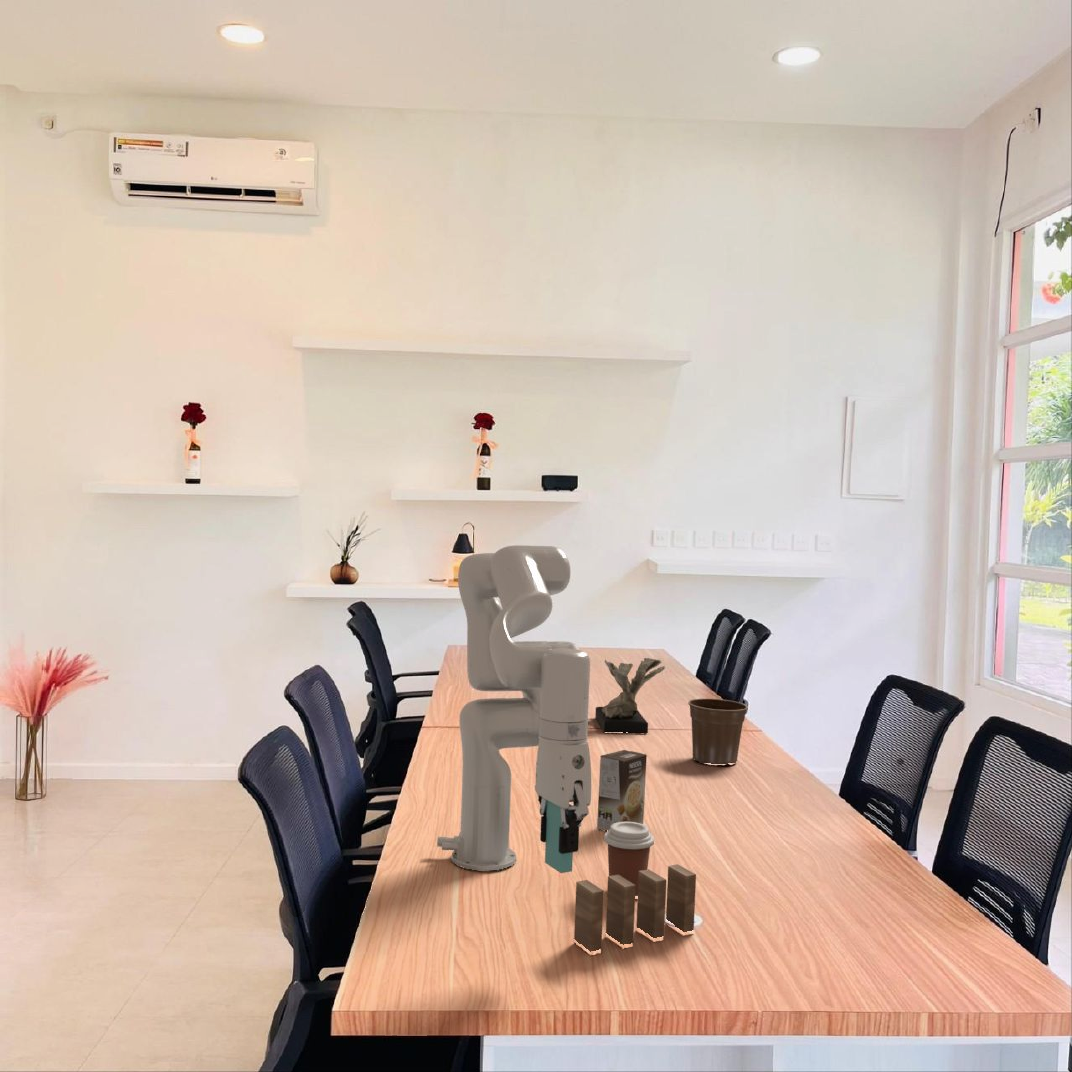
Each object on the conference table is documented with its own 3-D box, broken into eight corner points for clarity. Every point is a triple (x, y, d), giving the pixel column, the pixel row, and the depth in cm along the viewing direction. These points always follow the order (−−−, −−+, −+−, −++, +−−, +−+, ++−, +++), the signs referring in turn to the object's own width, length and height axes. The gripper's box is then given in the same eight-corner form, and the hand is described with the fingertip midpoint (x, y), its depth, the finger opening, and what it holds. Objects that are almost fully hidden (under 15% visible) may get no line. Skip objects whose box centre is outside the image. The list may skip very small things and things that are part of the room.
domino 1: (590, 956, 159) (592, 892, 159) (573, 943, 163) (576, 881, 163) (601, 953, 160) (603, 890, 160) (584, 941, 164) (587, 879, 164)
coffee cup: (620, 879, 192) (623, 816, 192) (661, 892, 186) (664, 827, 186) (591, 892, 185) (594, 827, 184) (633, 906, 179) (636, 839, 179)
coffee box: (620, 836, 217) (623, 761, 216) (596, 829, 221) (599, 755, 220) (644, 826, 224) (647, 754, 223) (620, 820, 228) (623, 748, 227)
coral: (594, 716, 338) (596, 651, 338) (655, 717, 339) (658, 653, 338) (601, 733, 313) (604, 663, 313) (667, 735, 314) (670, 665, 313)
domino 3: (653, 942, 165) (656, 881, 164) (636, 930, 169) (638, 871, 169) (663, 940, 166) (666, 879, 165) (646, 928, 170) (648, 869, 170)
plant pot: (742, 756, 291) (744, 699, 290) (748, 770, 275) (751, 711, 274) (684, 752, 293) (686, 696, 292) (687, 767, 276) (689, 707, 276)
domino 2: (622, 949, 162) (625, 887, 162) (605, 936, 166) (607, 876, 166) (633, 947, 163) (635, 885, 163) (615, 934, 167) (618, 874, 167)
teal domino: (560, 873, 156) (563, 808, 155) (544, 862, 160) (547, 799, 160) (572, 871, 156) (574, 806, 156) (556, 860, 161) (558, 797, 161)
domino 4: (683, 936, 168) (686, 876, 167) (665, 924, 172) (668, 866, 172) (693, 934, 169) (696, 874, 168) (675, 922, 173) (677, 864, 173)
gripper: (613, 739, 152) (609, 861, 152) (556, 717, 167) (552, 827, 167) (570, 743, 148) (565, 867, 149) (516, 720, 163) (512, 833, 164)
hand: (559, 845), depth 158 cm, fingers closed on teal domino, 4 cm apart
